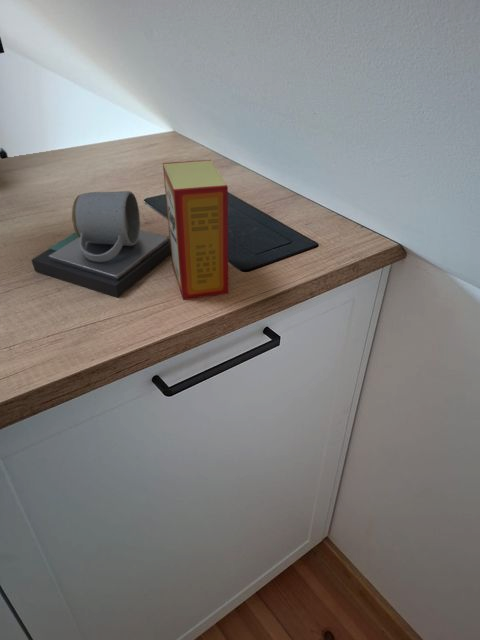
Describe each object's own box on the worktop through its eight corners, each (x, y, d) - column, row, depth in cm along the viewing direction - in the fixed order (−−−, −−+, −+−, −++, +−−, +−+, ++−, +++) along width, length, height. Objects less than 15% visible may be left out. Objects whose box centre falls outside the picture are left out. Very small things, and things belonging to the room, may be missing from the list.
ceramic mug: (91, 228, 77) (80, 180, 72) (142, 230, 77) (136, 183, 72) (69, 263, 69) (56, 213, 64) (127, 266, 69) (118, 215, 64)
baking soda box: (172, 265, 75) (162, 160, 65) (213, 260, 77) (210, 157, 66) (183, 299, 68) (174, 187, 58) (228, 293, 70) (227, 183, 60)
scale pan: (49, 260, 71) (48, 255, 71) (106, 225, 80) (105, 220, 80) (117, 281, 68) (116, 276, 67) (168, 241, 77) (168, 237, 76)
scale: (34, 271, 72) (30, 258, 71) (100, 230, 83) (97, 218, 82) (118, 297, 68) (115, 284, 67) (175, 251, 79) (174, 238, 77)
